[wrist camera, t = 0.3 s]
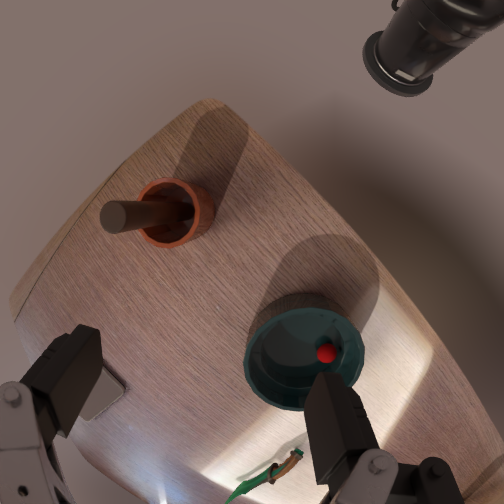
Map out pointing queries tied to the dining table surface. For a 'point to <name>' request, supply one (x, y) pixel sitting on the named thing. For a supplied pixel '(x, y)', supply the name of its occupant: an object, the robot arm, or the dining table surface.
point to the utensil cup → (181, 230)
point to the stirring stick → (142, 214)
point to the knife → (268, 474)
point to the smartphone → (102, 395)
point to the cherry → (326, 353)
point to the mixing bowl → (299, 348)
